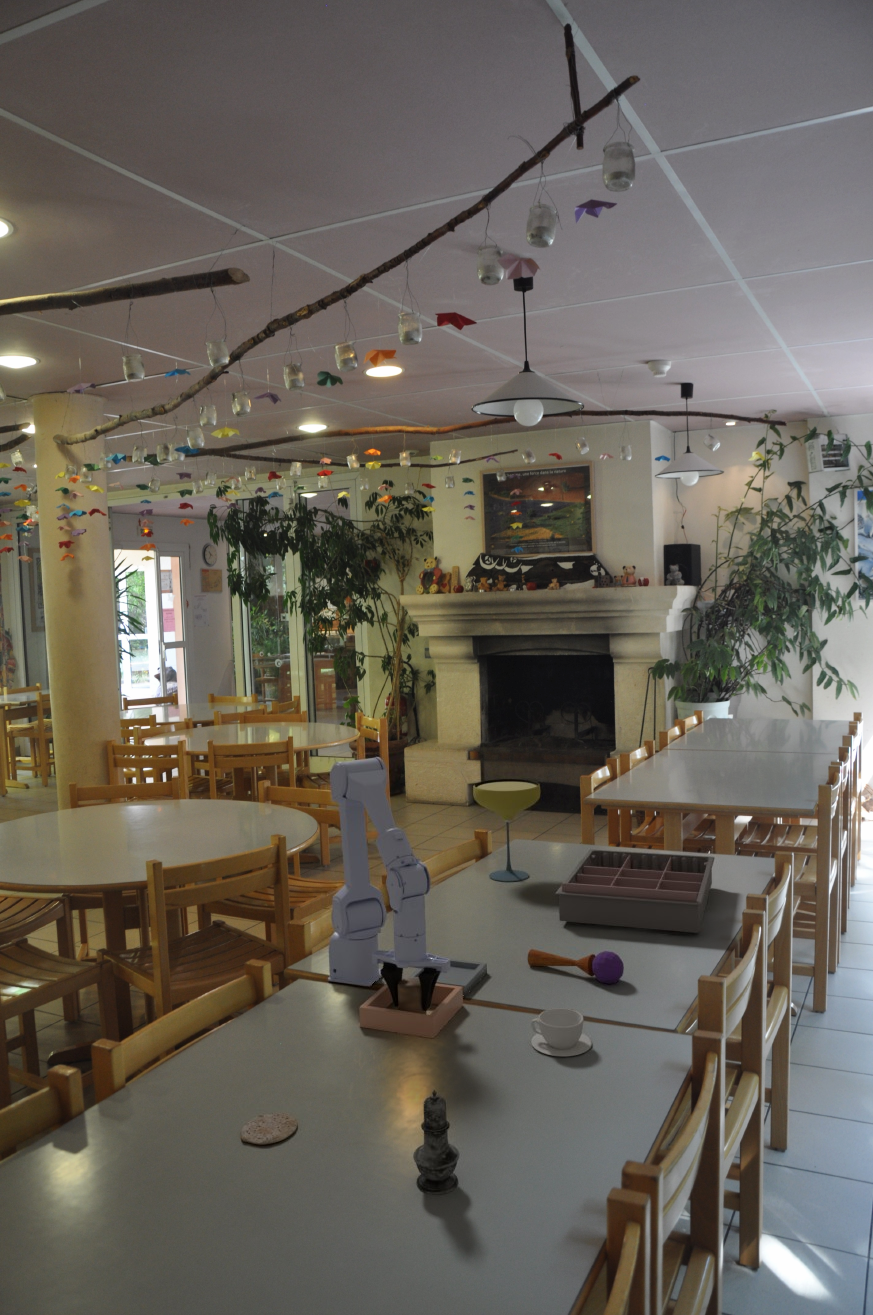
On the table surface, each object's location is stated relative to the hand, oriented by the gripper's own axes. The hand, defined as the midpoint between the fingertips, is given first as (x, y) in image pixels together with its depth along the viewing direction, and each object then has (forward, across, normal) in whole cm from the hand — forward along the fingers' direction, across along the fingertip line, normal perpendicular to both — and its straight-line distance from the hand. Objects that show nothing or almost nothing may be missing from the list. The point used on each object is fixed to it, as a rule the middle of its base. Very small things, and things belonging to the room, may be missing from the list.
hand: (412, 1006), depth 169 cm
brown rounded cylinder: (+2, 0, 0) cm, 2 cm away
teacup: (+2, +28, -2) cm, 28 cm away
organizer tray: (+2, +27, +74) cm, 79 cm away
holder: (+2, 0, 0) cm, 2 cm away
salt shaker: (+2, +23, -44) cm, 50 cm away
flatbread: (+2, -4, -41) cm, 41 cm away
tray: (+2, 0, +17) cm, 17 cm away
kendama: (+2, +23, +28) cm, 36 cm away
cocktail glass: (+2, -11, +89) cm, 90 cm away
